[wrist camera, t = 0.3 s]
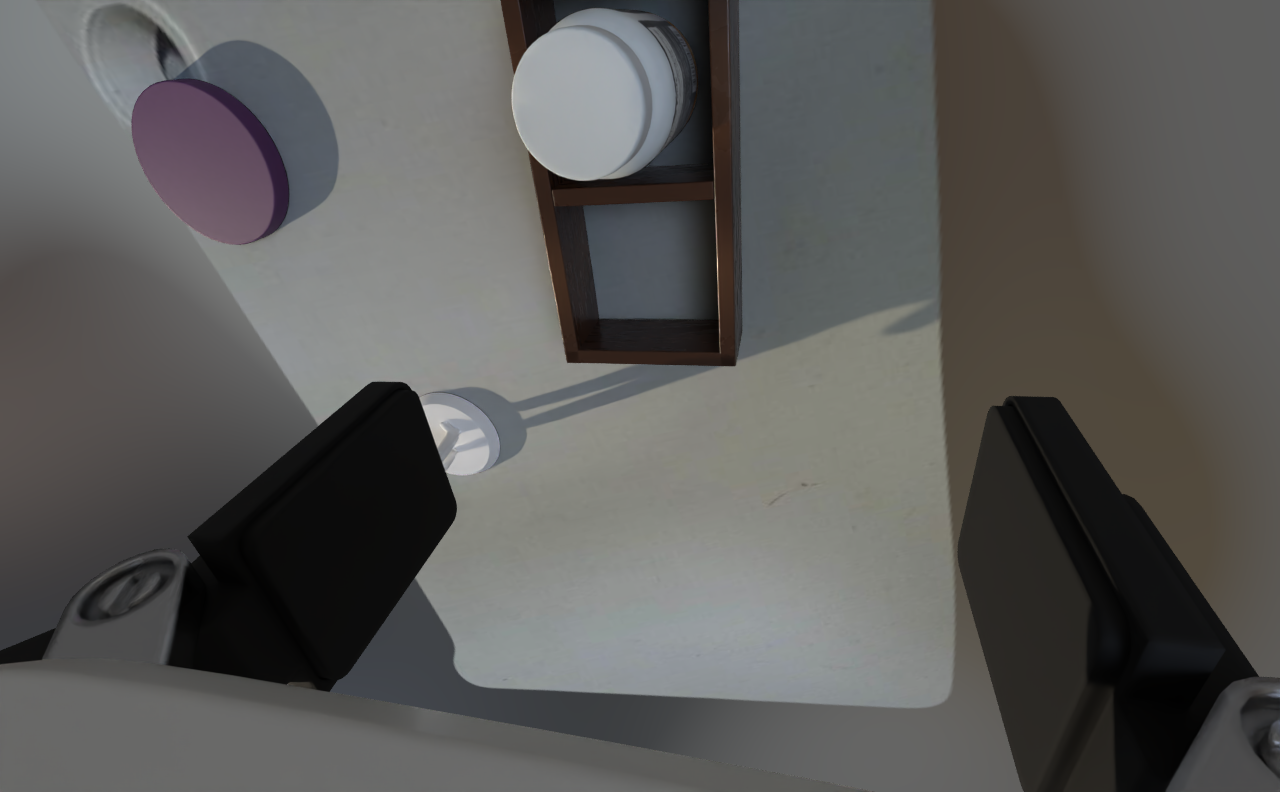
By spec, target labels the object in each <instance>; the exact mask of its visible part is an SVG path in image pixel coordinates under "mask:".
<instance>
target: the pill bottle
mask: <svg viewBox="0 0 1280 792" xmlns="http://www.w3.org/2000/svg"><path fill="white" fill-rule="evenodd" d="M697 94H698V69H697V64H696V60H695V57H694V54H693V52H692V49H691V47H690V45H689V43H688V42H687V40H686V39H685V37H684V36H683V34H682V33H681V32H680V31H679V30H678V29H677V28H676V27H675V26H674V25H673V24H672V23H670V22H669V21H667V20H666V19H664V18H662V17H660V16H658V15H655V14H652V13H649V12H644V11H637V10H620V9H610V8H589V9H585V10H581V11H578V12H575V13H573V14H570V15H568V16H567V17H565V18H563V19H562V20H561V21H559V22H558V23H557V24H556V25H555V26H554V27H553V28H552V29H550V31H549V32H548V33H546V34H544V35H542V36H541V37H539V38H538V39H537V40H536V41H535V42H534V43H532V45H531V46H530V47H529V48H528V49H527V51H526V52H525V53H524V55H523V57H522V58H521V60H520V62H519V64H518V67H517V69H516V72H515V75H514V79H513V85H512V97H511V100H512V110H513V116H514V120H515V123H516V127H517V130H518V132H519V135H520V137H521V139H522V141H523V142H524V144H525V146H526V147H527V149H528V150H529V152H530V153H531V154H532V155H533V156H534V157H535V159H536V160H537V161H538V162H540V163H541V164H542V165H543V166H544V167H546V168H547V169H549V170H550V171H552V172H553V173H555V174H557V175H559V176H562V177H565V178H568V179H572V180H578V181H588V180H596V179H615V178H621V177H625V176H629V175H631V174H633V173H636V172H638V171H640V170H641V169H643V168H644V167H646V166H647V165H648V164H649V163H650V162H651V161H652V160H653V159H654V158H655V157H656V156H657V155H658V154H659V153H660V152H661V151H662V150H663V149H664V148H665V147H666V146H667V145H668V144H669V143H670V142H671V141H672V140H673V139H674V138H675V137H676V136H677V135H678V134H679V133H680V132H681V131H682V129H683V128H684V127H685V125H686V124H687V122H688V120H689V119H690V117H691V114H692V112H693V110H694V107H695V104H696V99H697Z"/></svg>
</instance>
